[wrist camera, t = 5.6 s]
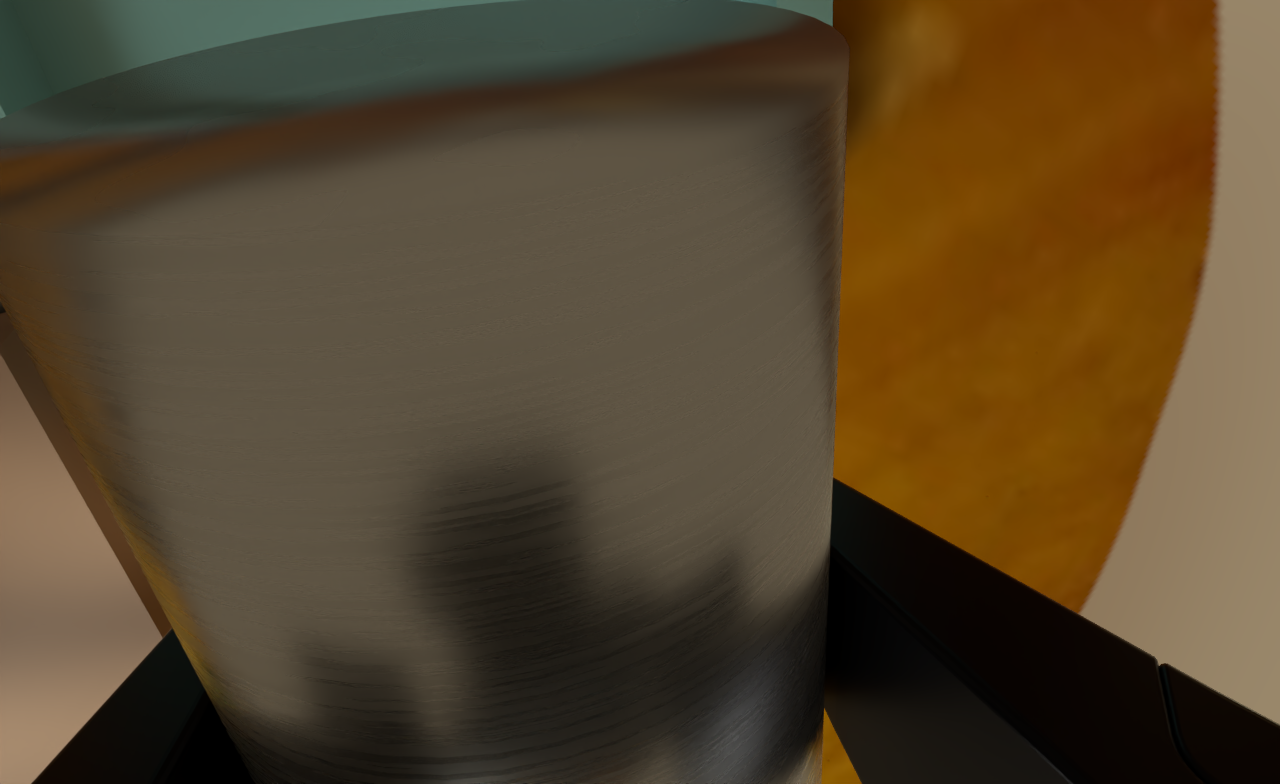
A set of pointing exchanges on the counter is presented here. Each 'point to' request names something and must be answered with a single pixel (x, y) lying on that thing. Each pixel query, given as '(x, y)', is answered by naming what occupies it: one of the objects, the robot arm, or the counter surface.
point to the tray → (176, 33)
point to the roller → (463, 379)
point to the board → (58, 579)
